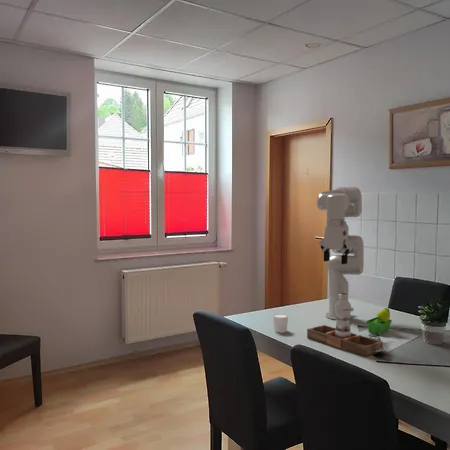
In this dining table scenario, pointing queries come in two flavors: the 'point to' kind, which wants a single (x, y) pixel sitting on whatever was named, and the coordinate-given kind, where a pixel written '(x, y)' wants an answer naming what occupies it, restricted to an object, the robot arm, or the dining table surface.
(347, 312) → the plastic bottle
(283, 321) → the white cup
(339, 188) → the robot arm
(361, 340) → the wooden compartment tray
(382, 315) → the fruit basket
